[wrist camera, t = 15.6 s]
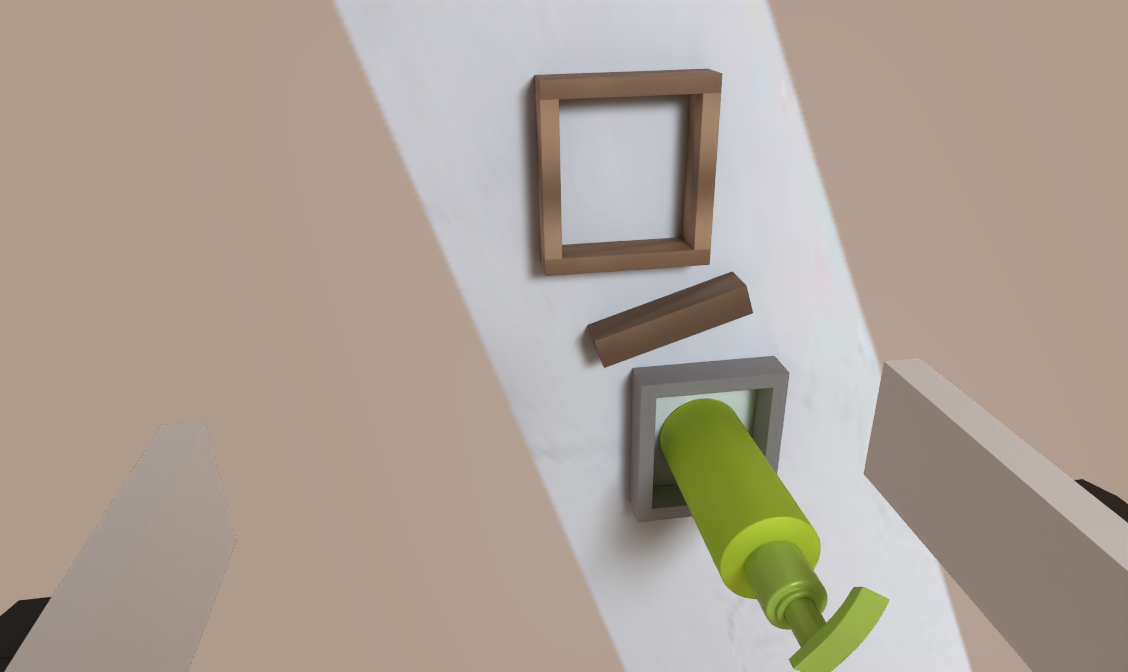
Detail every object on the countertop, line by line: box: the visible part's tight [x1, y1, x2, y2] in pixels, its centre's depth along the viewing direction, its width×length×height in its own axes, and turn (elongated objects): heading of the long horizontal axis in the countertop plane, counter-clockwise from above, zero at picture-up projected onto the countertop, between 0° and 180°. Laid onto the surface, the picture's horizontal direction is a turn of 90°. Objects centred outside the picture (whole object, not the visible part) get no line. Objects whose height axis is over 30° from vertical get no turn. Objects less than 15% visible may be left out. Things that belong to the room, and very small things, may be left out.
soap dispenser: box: [660, 399, 889, 672], centre depth 45 cm, size 6×7×20 cm
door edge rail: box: [588, 272, 753, 368], centre depth 48 cm, size 2×10×2 cm, turn 108°
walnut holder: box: [534, 69, 722, 276], centre depth 44 cm, size 11×10×2 cm
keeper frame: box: [630, 356, 789, 522], centre depth 53 cm, size 11×10×2 cm
